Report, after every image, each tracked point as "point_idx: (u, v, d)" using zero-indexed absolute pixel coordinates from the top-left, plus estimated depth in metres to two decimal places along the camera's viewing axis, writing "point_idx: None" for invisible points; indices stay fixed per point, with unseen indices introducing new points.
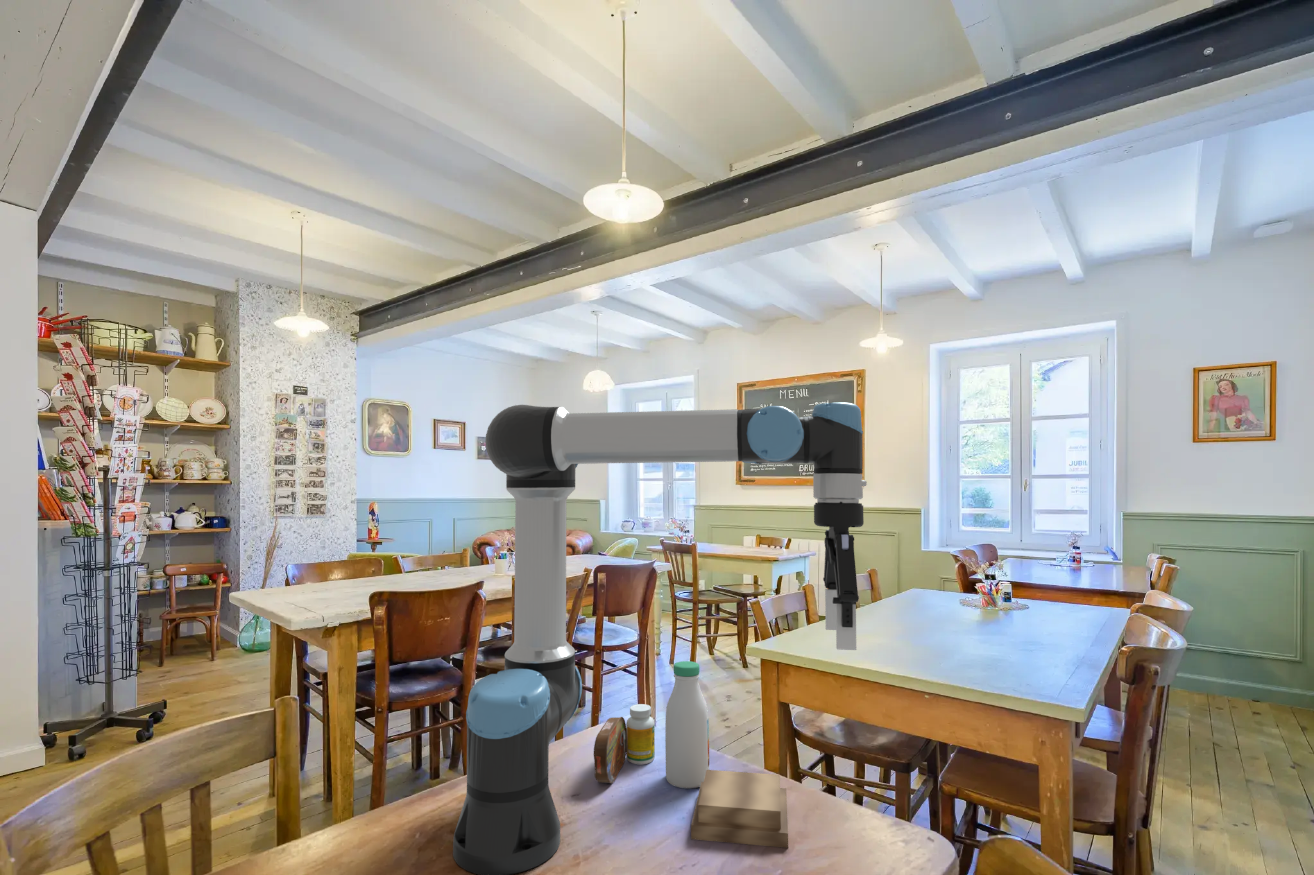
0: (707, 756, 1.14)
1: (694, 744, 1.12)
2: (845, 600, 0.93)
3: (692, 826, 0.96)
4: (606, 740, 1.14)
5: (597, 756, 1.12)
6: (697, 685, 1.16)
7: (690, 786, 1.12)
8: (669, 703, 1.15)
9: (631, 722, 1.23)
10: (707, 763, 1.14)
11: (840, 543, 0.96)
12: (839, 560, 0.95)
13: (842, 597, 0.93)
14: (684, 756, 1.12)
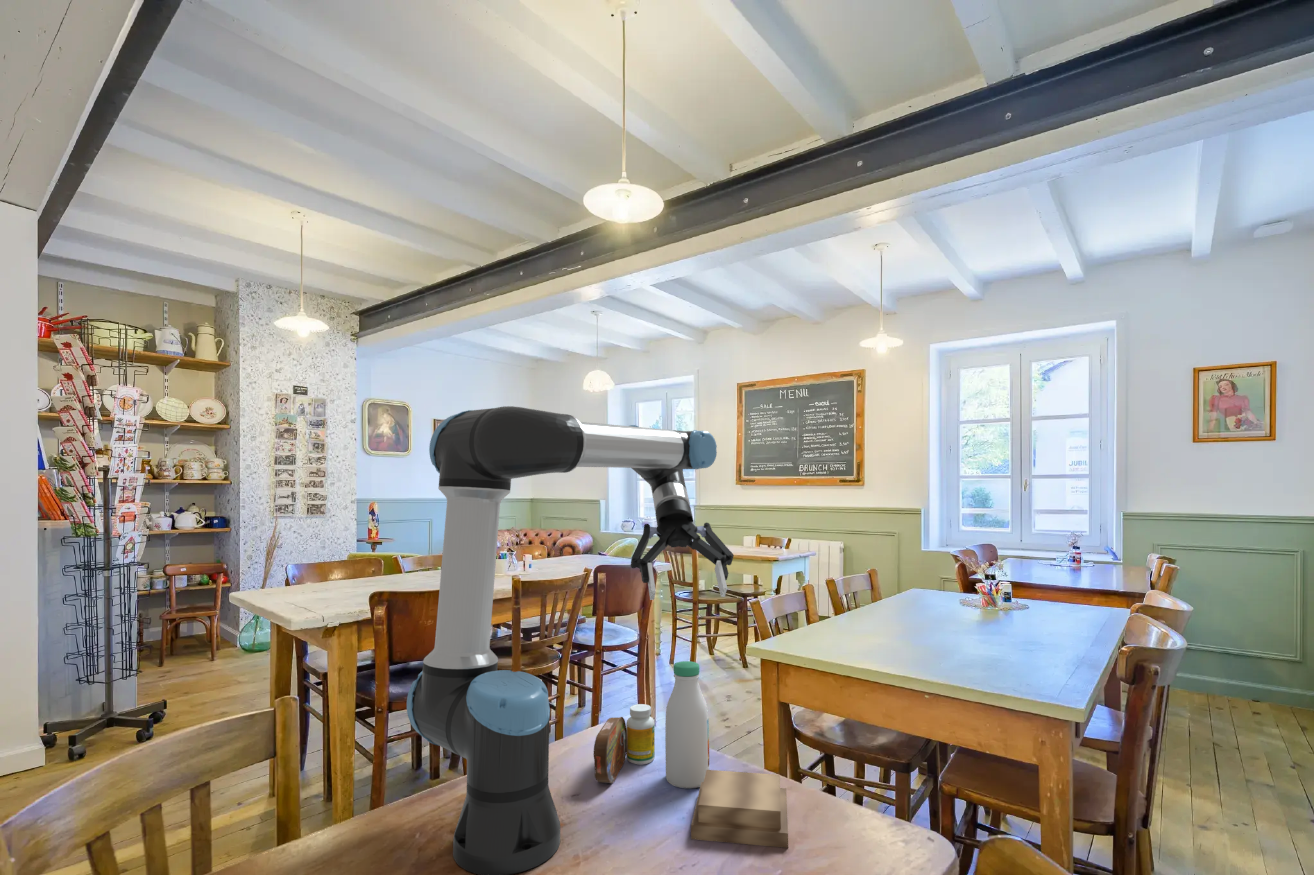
0: (707, 756, 1.14)
1: (694, 744, 1.12)
2: (732, 559, 1.29)
3: (692, 826, 0.96)
4: (606, 740, 1.14)
5: (597, 756, 1.12)
6: (697, 685, 1.16)
7: (690, 786, 1.12)
8: (669, 703, 1.15)
9: (631, 722, 1.23)
10: (707, 763, 1.14)
11: None
12: (716, 536, 1.33)
13: None
14: (684, 756, 1.12)
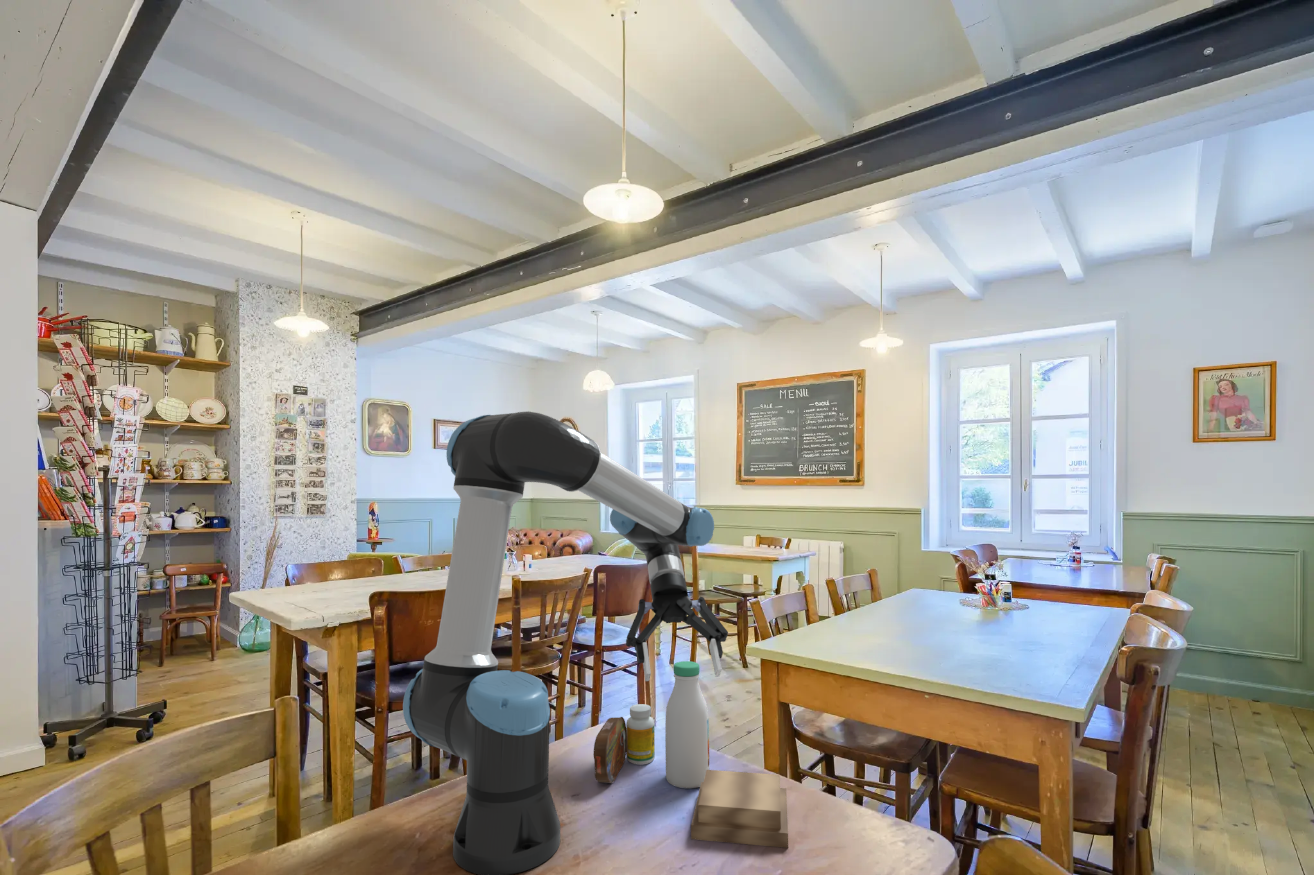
0: (707, 756, 1.14)
1: (694, 744, 1.12)
2: (726, 636, 1.30)
3: (692, 826, 0.96)
4: (606, 740, 1.14)
5: (597, 756, 1.12)
6: (697, 685, 1.16)
7: (690, 786, 1.12)
8: (669, 703, 1.15)
9: (631, 722, 1.23)
10: (707, 763, 1.14)
11: None
12: None
13: None
14: (684, 756, 1.12)
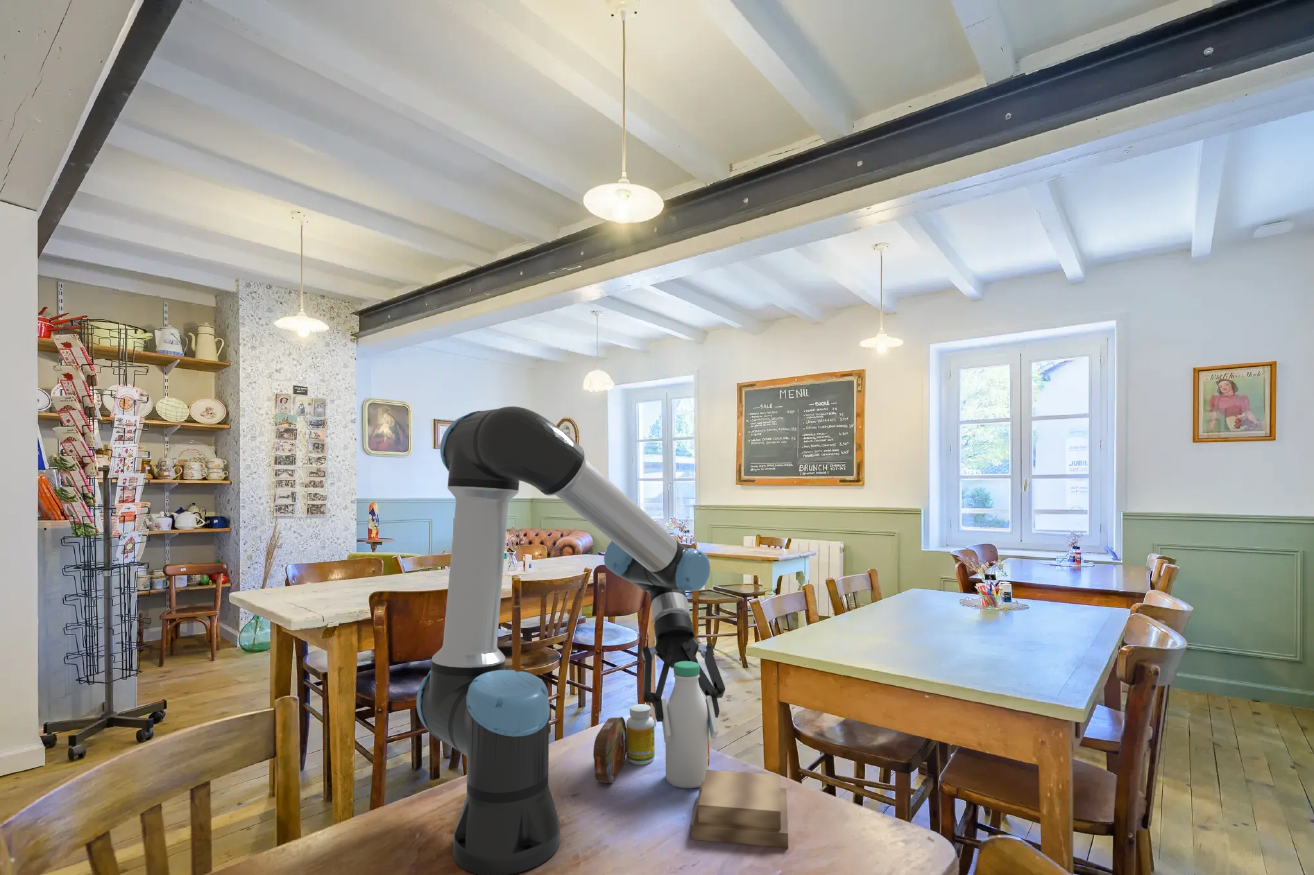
0: (707, 756, 1.14)
1: (694, 744, 1.12)
2: (723, 692, 1.19)
3: (692, 826, 0.96)
4: (606, 740, 1.14)
5: (596, 756, 1.12)
6: (697, 685, 1.16)
7: (690, 786, 1.12)
8: (669, 703, 1.15)
9: (631, 722, 1.23)
10: (707, 763, 1.14)
11: None
12: None
13: None
14: (684, 756, 1.12)
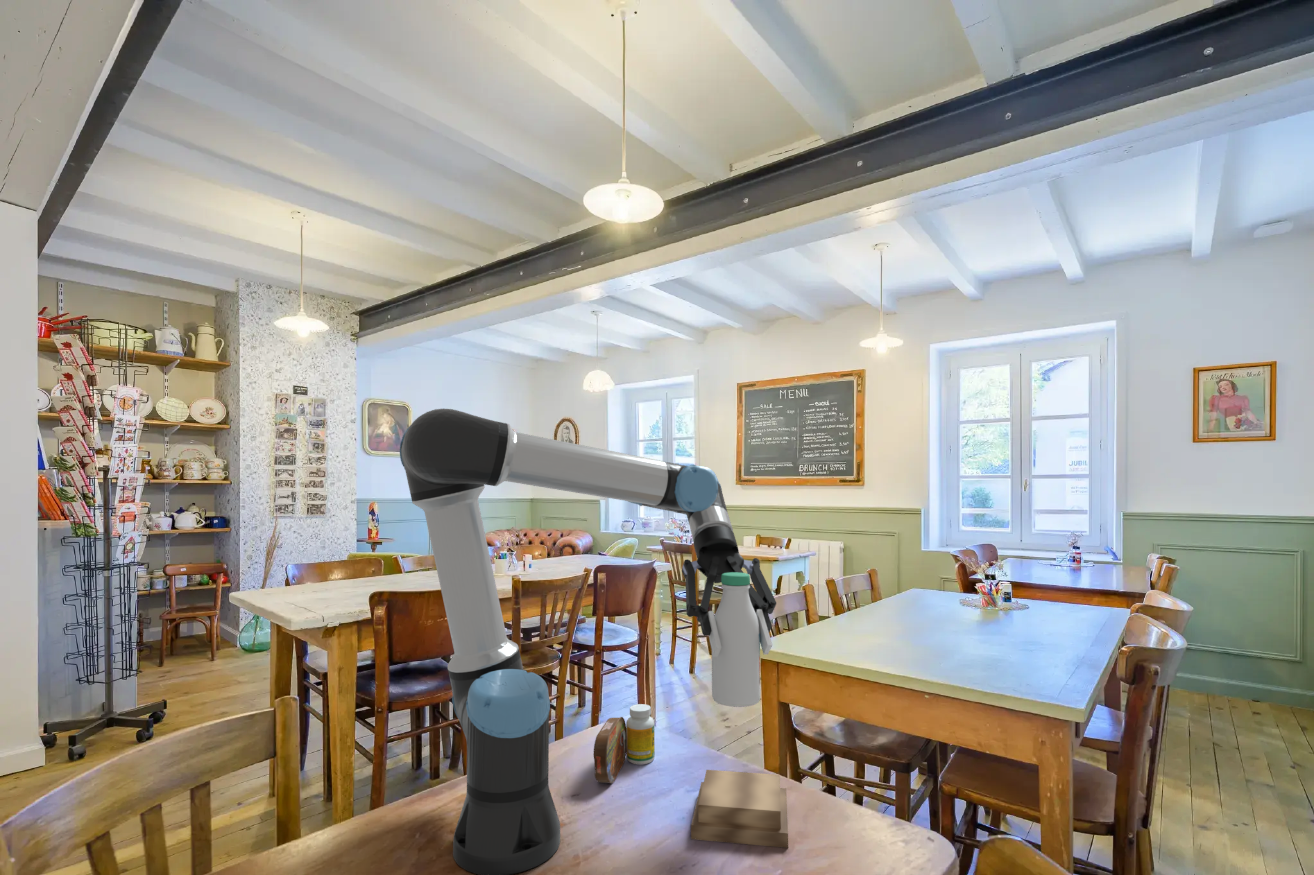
0: (759, 673, 1.04)
1: (746, 658, 1.02)
2: (774, 606, 1.09)
3: (692, 826, 0.96)
4: (606, 740, 1.14)
5: (597, 756, 1.12)
6: (748, 596, 1.05)
7: (741, 704, 1.01)
8: (717, 615, 1.05)
9: (631, 722, 1.23)
10: (759, 681, 1.03)
11: None
12: None
13: None
14: (735, 671, 1.01)
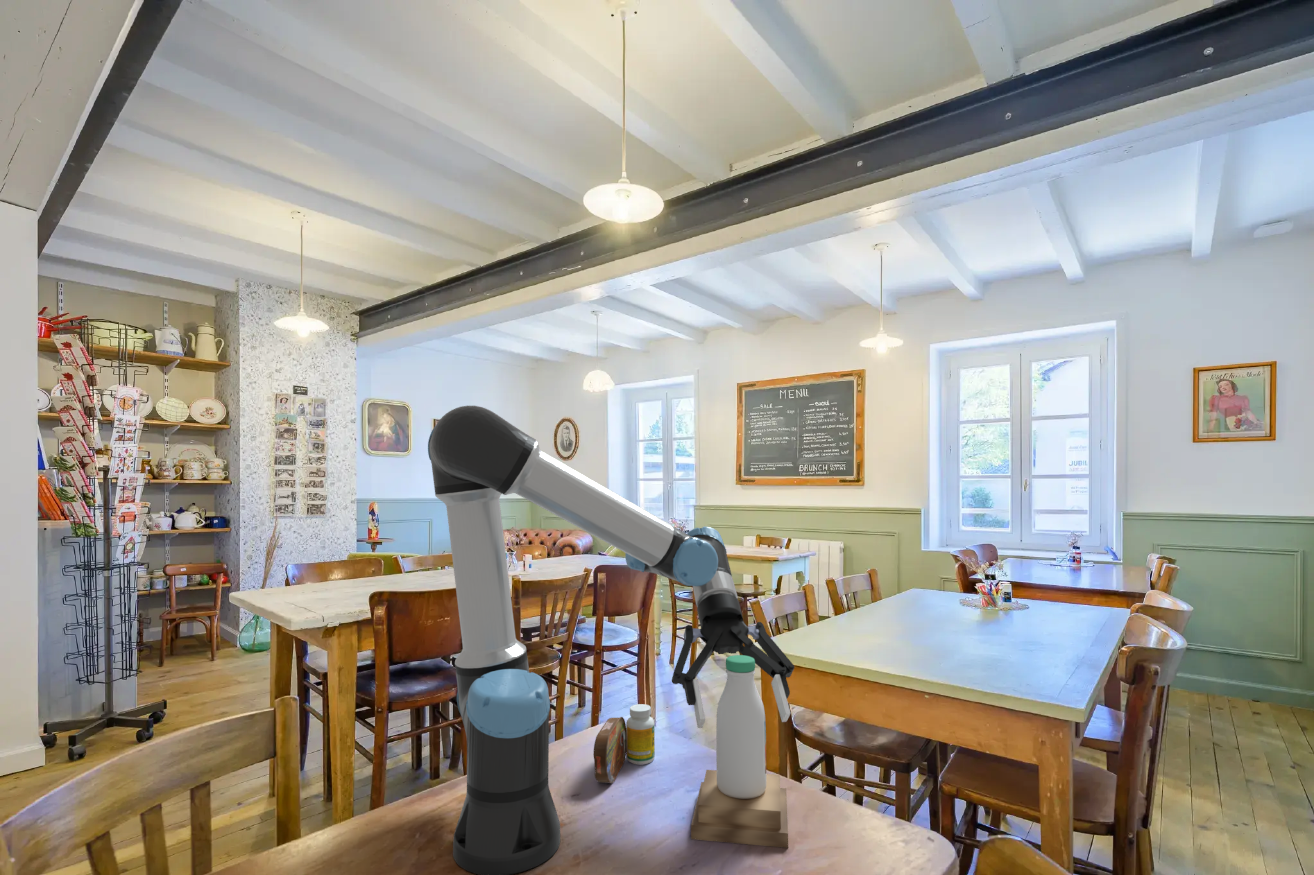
0: (764, 762, 1.01)
1: (751, 749, 0.99)
2: (792, 670, 1.08)
3: (692, 826, 0.96)
4: (606, 740, 1.14)
5: (597, 756, 1.12)
6: (753, 682, 1.02)
7: (746, 796, 0.99)
8: (721, 702, 1.02)
9: (631, 722, 1.23)
10: (764, 770, 1.01)
11: None
12: None
13: None
14: (740, 762, 0.99)
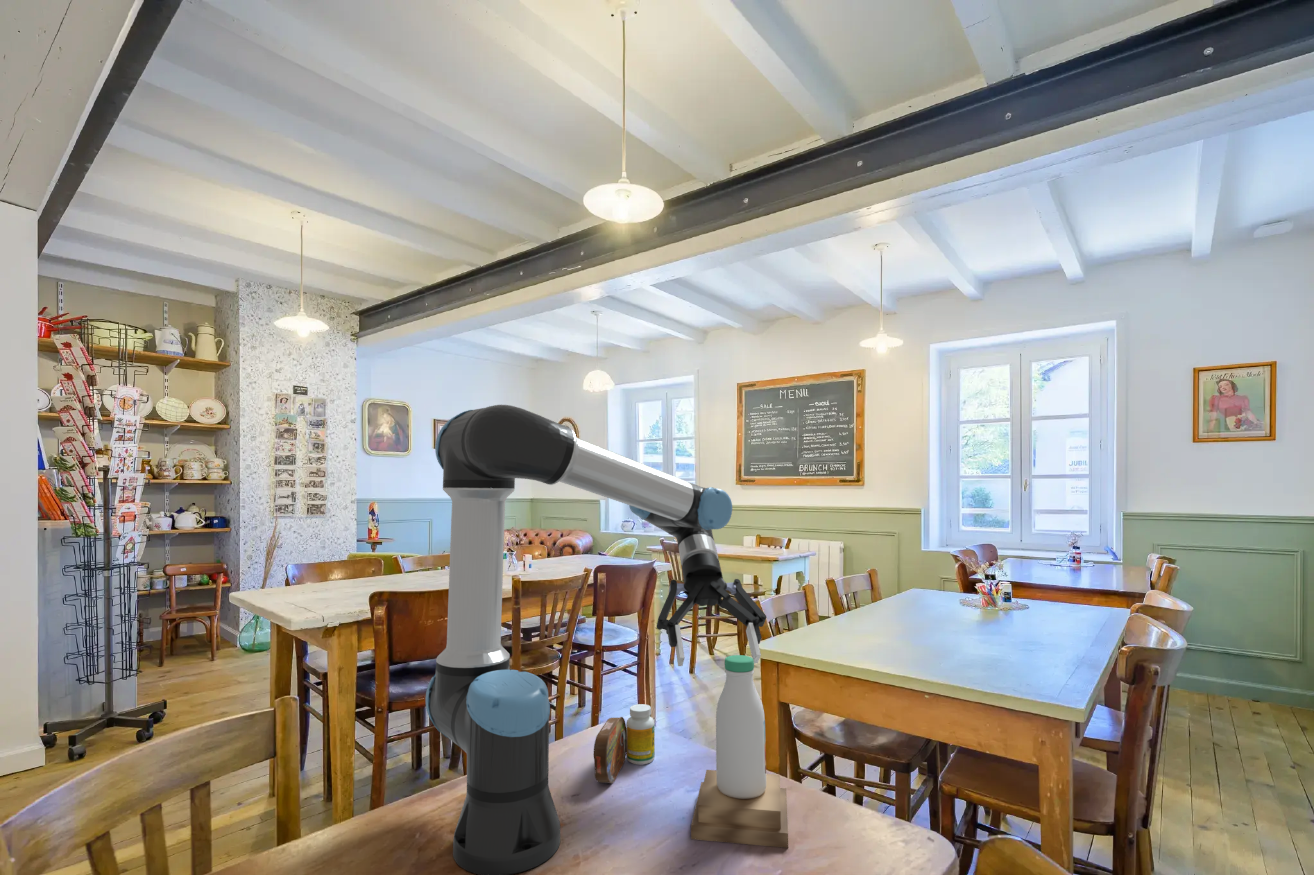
0: (764, 762, 1.01)
1: (750, 748, 0.99)
2: None
3: (692, 826, 0.96)
4: (606, 740, 1.14)
5: (597, 756, 1.12)
6: (752, 682, 1.02)
7: (746, 796, 0.99)
8: (720, 702, 1.02)
9: (631, 722, 1.23)
10: (764, 770, 1.01)
11: None
12: (747, 595, 1.24)
13: None
14: (739, 762, 0.99)
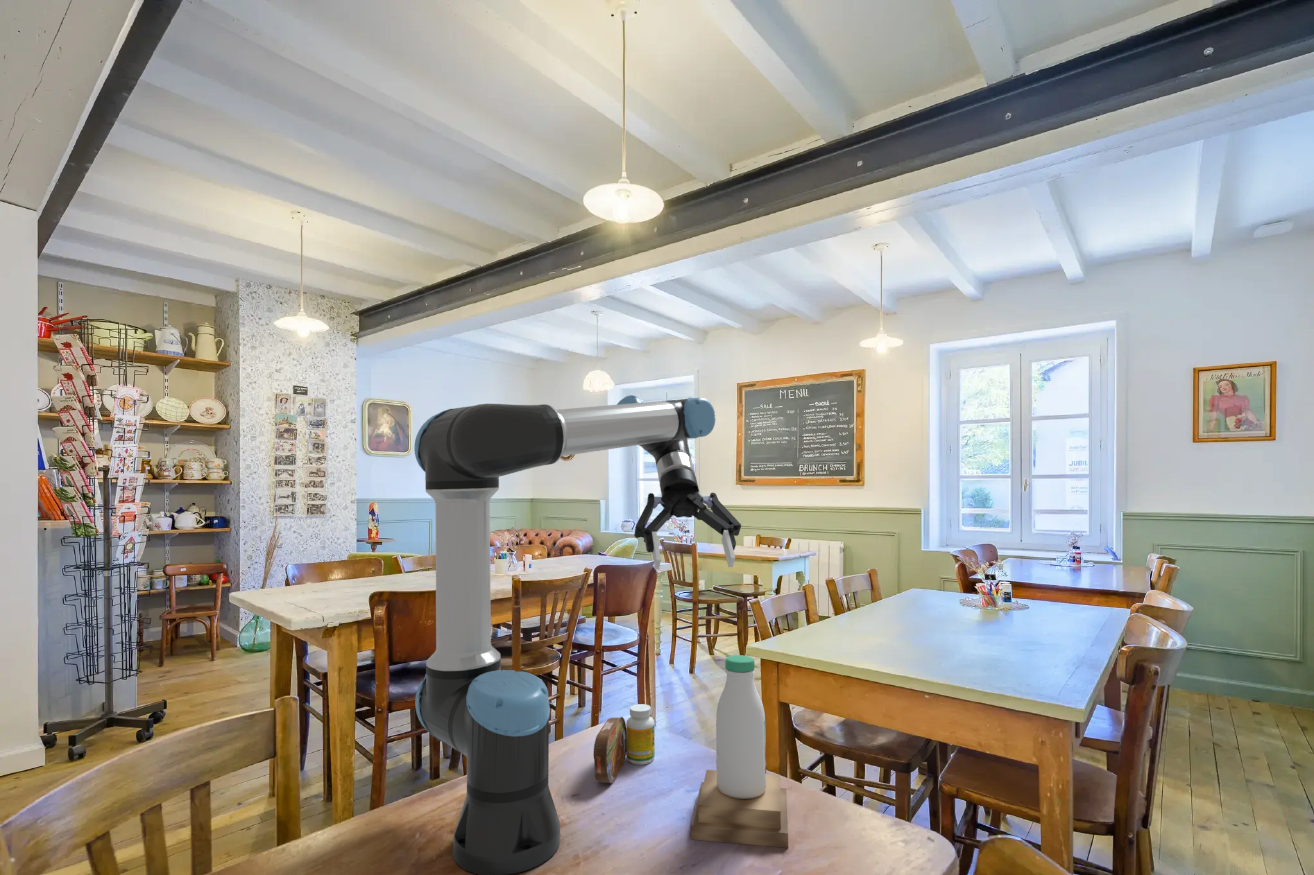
0: (764, 762, 1.01)
1: (750, 748, 0.99)
2: None
3: (692, 826, 0.96)
4: (606, 740, 1.14)
5: (597, 756, 1.12)
6: (752, 682, 1.02)
7: (746, 796, 0.99)
8: (721, 702, 1.02)
9: (631, 722, 1.23)
10: (764, 770, 1.01)
11: None
12: (723, 506, 1.28)
13: None
14: (739, 762, 0.99)
